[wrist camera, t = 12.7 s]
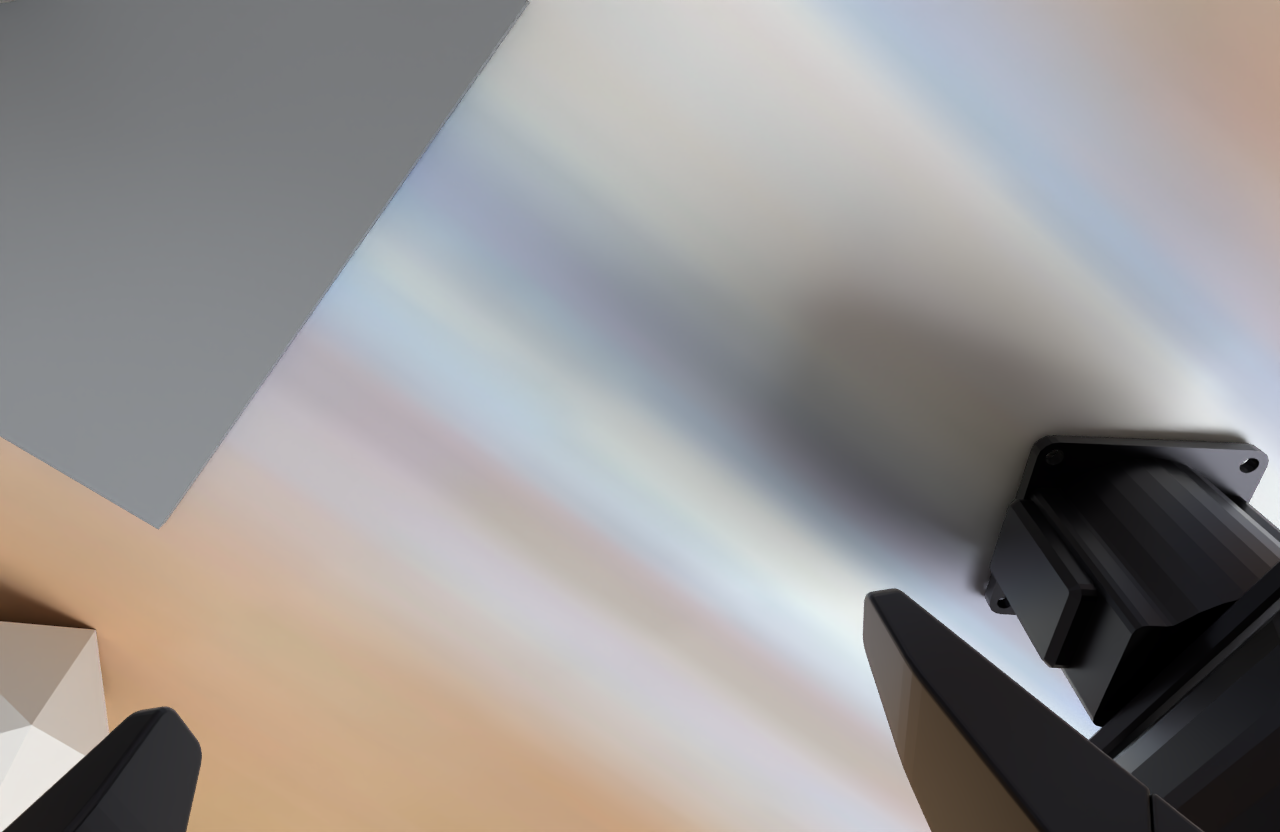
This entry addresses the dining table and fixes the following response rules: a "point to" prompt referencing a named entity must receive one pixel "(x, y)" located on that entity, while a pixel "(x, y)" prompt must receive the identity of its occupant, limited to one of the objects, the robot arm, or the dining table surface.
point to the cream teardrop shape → (4, 0)
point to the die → (45, 709)
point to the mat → (195, 205)
